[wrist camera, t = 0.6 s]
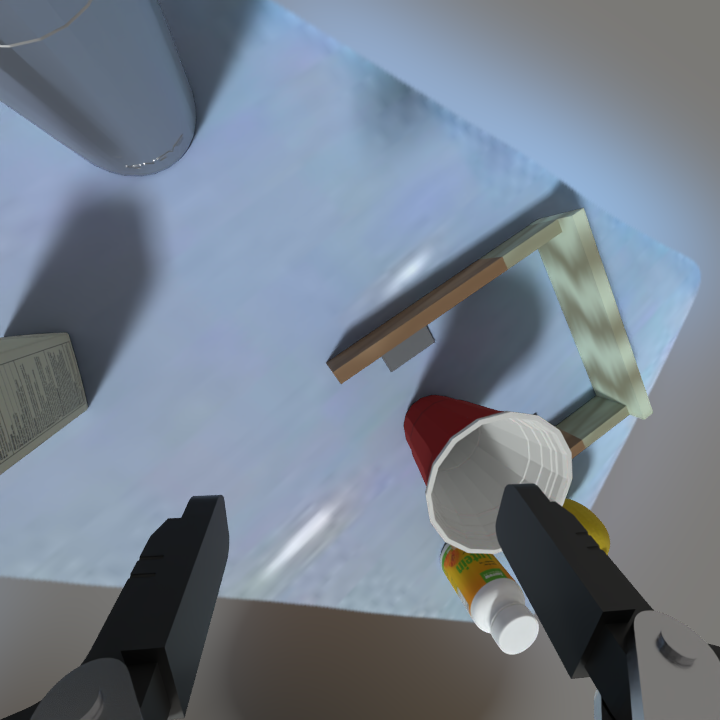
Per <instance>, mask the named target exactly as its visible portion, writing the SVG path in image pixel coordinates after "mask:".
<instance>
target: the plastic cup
mask: <svg viewBox="0 0 720 720" xmlns="http://www.w3.org/2000/svg"><path fill="white" fill-rule="evenodd" d="M404 430H405V436H406V440H407V442H408V444H409V446H410V448H411V450H412V455H413V457H414V459H415V461H416V464H417V466H418V468H419V471H420V473H421V475H422V477H423V480H424V482H425V484H426V486H427V487H426V491H425V493H426V499H427V505H428V512H429V518H430V522H431V524H432V525H433V526H434V528H435V529H436V530H437V532H438V533H439V534H440V536H441V537H442V538H443V540H444V541H445V542H446V543H448V544H450V545H452V546H455V547H457V548H459V549H461V550H463V551H465V552H467V553H484V554H496V553H499V552H502V549H501V547H500V545H499V543H498V540H497V536H496V528H495V525H496V519H497V515H498V512H499V508H500V504H501V500H502V496H503V492H504V489H505V487H506V485H508V484H526V483H533V484H536V485H537V486H538V487H539V488H540V489H541V490H542V492H543V493H544V494H545V495H546V497H547V498H548V499H549V500H550V502H552V501H556V502H557V503H558V504H560V505H561V506H563V504H564V501H565V498H566V495H567V493H568V490H569V487H570V484H571V481H572V453H571V451H570V449H569V447H568V445H567V443H566V441H565V439H564V437H563V435H562V433H561V431H560V430H559V429H557V428H556V427H554V426H553V425H551V424H550V423H548V422H547V421H546V420H544V419H543V418H541V417H540V416H537V415H532V414H524V413H517V412H509V411H505V412H504V411H497V410H494V409H490V408H487V407H484V406H480V405H477V404H474V403H470V402H467V401H463V400H457V399H453V398H450V397H446V396H439V395H430V396H426V397H423V398H420V399H419V400H418V401H417V402H415V403H414V404H413V405H412V406H411V407H410V409H409V410H408V412H407V414H406V416H405V421H404Z"/></svg>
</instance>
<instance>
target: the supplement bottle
mask: <svg viewBox="0 0 720 720" xmlns="http://www.w3.org/2000/svg"><path fill="white" fill-rule="evenodd" d="M440 564H441V567H442V570H443V571H444V573H445V575H446V576H447V578H448V580H449V581H450V583H451V585H452V586H453V588H454V589H455V591H456V593H457V594H458V596H459V598H460V599H461V601H462V603H463V604H464V606H465V607H466V609H467V611H468V612H469V614H470V616H471V617H472V619H473V621H474V622H475V624H476V625H477V626H478V627H479V628H480V629H481V630H483V631H485V632H487V633H491V634H492V637H493V639H494V640H495V641H496V643H497V644H498V646H499V647H500V648H501V650H502V651H503V652H505V653H507V654H517V653H520V652H522V651H524V650H526V649H527V648H528V647H529V646H530V645H531V644H532V643H533V642H534V641H535V639H536V637H537V635H538V630H539V625H538V622H537V620H536V618H535V617H534V616H533V614H532V613H531V612H530V610H529V609H528V608H527V607H526V606H525V598H524V594H523V592H522V590H521V588H520V587H519V585H518V584H517V583H516V582H515V580H514V579H513V578H512V577H511V576H510V574H509V573H508V572H507V571H506V570H505V568H504V567H503V566H502V565H501V564H500V562H499V561H498V560H497V559H496V558H495V556H494V555H493V554H484V553H467V552H465V551H463V550H461V549H459V548H456V549H455V550H453V549H452V547H451V546H450V544H448V543H447V544H446V545H445V547H444V548H443V550H442V553H441V556H440Z"/></svg>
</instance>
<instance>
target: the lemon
mask: <svg viewBox="0 0 720 720" xmlns="http://www.w3.org/2000/svg"><path fill="white" fill-rule="evenodd" d="M562 507H564V508H565V509H566V510H568V511H569V512H570V513H572V514H573V515H574V516H575V517H576V518H577V520H578V521H579V522H580V523H581V524H582V526H583V527H584V528H585V529H586V530H587V531H588V535H591V536H592V537H593V539H594V540H595V541H596V542H597V543H598V545H599V546H600V549H601V550H603V551H604V552H605V553H606V554H607V555H608V552H609V548H610V539H609V534H608V532H607V530H606V528H605V526H604V525H603V524H602V522H601V521H600V520H599V519H598V518H597V517H596V515H595V514H594V513H592V512H591V511H590V510H589V509H588V508H586V507H585V506H583V505H581V504H579V503H578V502H575V501H573V500H571V499H566V498H565V501H564V504H563V506H562Z"/></svg>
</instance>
